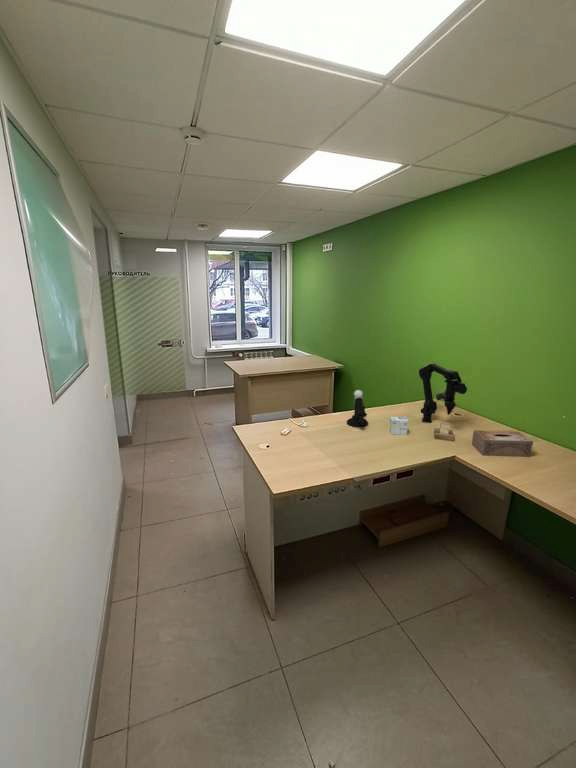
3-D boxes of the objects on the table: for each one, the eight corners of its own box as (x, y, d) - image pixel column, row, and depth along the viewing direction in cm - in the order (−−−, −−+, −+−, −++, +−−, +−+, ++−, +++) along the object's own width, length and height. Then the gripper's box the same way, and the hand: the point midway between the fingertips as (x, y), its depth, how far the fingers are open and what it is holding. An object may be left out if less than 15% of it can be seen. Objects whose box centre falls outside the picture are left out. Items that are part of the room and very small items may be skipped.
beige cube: (439, 430, 220) (440, 421, 218) (447, 431, 218) (448, 422, 217) (439, 433, 216) (440, 424, 214) (448, 434, 214) (449, 425, 212)
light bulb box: (404, 431, 227) (406, 416, 224) (407, 435, 220) (408, 420, 218) (388, 431, 228) (389, 416, 225) (390, 435, 222) (391, 419, 219)
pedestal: (434, 432, 225) (434, 428, 224) (452, 434, 221) (452, 430, 220) (434, 438, 215) (434, 434, 214) (453, 441, 211) (453, 437, 210)
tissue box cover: (482, 456, 192) (484, 440, 190) (471, 445, 206) (473, 430, 203) (530, 457, 190) (533, 441, 187) (515, 446, 204) (518, 431, 201)
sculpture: (365, 419, 249) (366, 387, 243) (373, 432, 226) (375, 397, 220) (344, 419, 249) (345, 387, 242) (351, 432, 226) (352, 397, 219)
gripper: (436, 385, 231) (434, 406, 235) (437, 392, 215) (435, 415, 219) (454, 386, 227) (452, 408, 231) (457, 394, 211) (454, 417, 215)
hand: (448, 412), depth 224 cm, fingers open, 9 cm apart
